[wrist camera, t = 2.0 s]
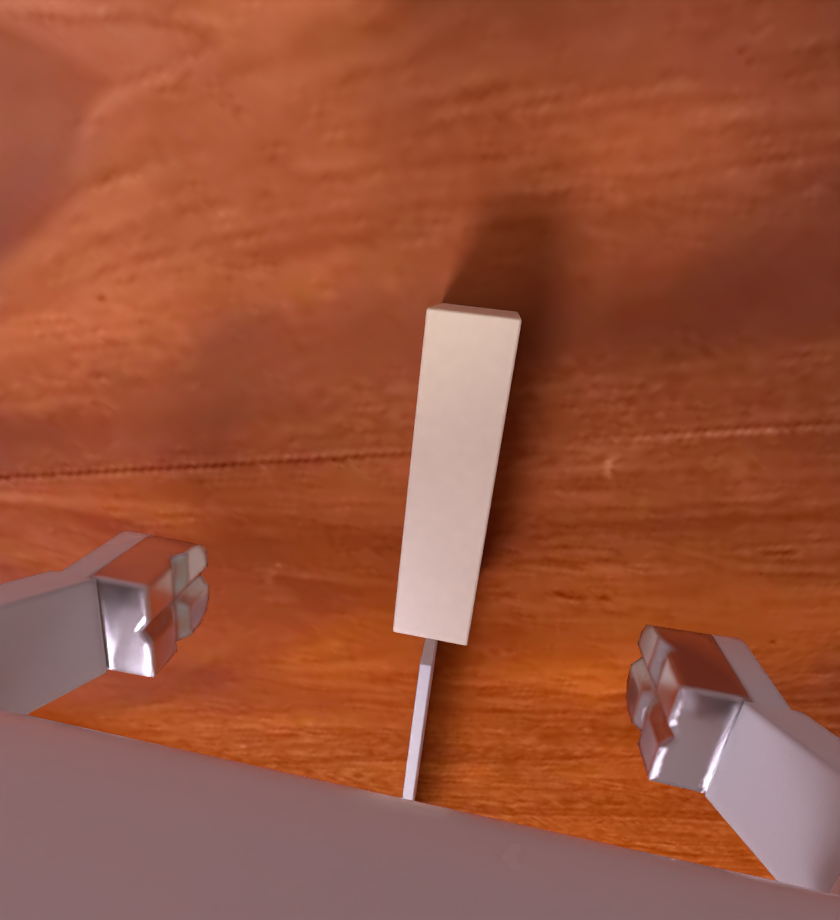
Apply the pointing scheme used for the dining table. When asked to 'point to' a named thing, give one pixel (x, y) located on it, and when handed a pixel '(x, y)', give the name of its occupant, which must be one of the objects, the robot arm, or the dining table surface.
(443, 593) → the butter knife
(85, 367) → the dining table surface
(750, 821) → the robot arm
